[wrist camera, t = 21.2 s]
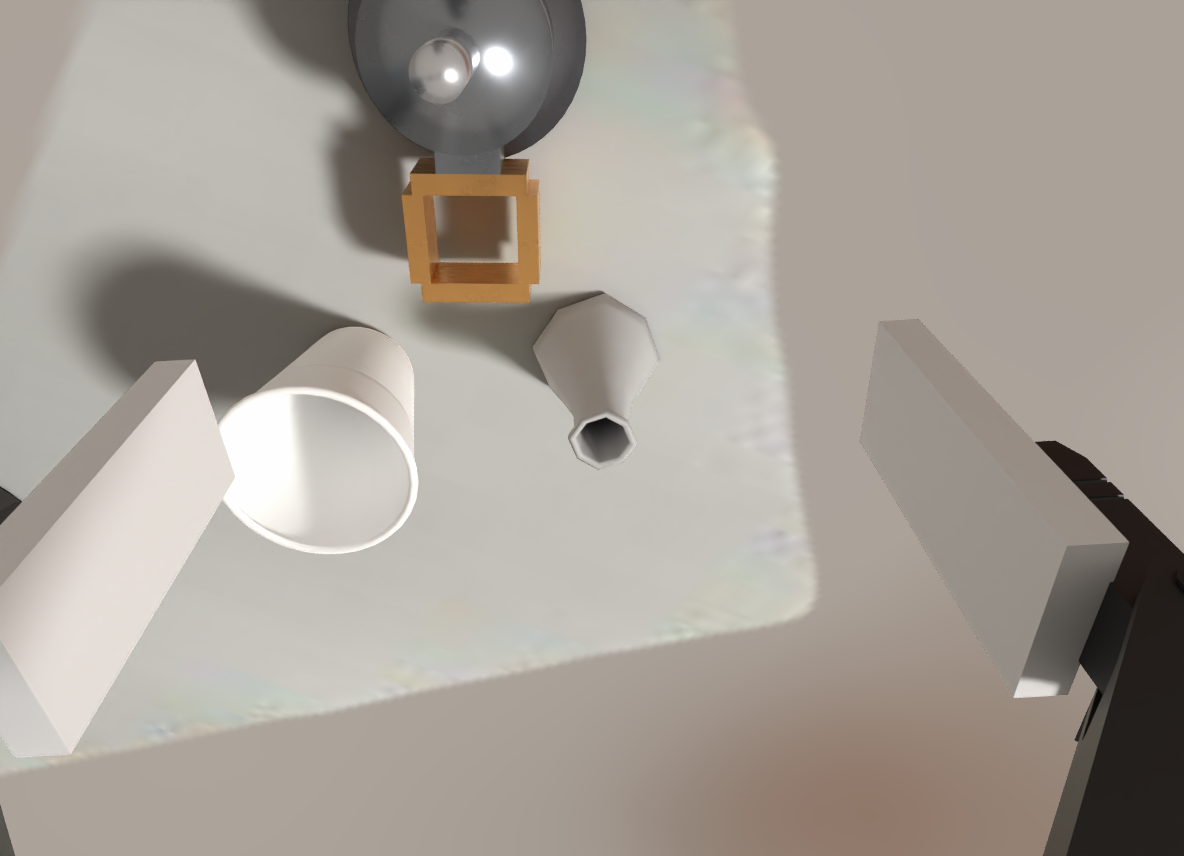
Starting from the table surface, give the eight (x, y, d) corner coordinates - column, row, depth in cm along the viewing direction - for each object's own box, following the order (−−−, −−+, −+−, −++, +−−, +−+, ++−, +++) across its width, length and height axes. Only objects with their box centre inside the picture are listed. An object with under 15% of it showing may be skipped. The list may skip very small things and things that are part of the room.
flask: (607, 269, 45) (616, 348, 36) (680, 359, 48) (704, 450, 39) (510, 343, 47) (497, 432, 39) (586, 424, 50) (590, 523, 42)
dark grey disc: (373, 155, 41) (367, 162, 40) (336, -100, 35) (328, -102, 34) (586, 153, 41) (587, 160, 40) (584, -102, 35) (585, -103, 34)
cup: (388, 466, 51) (348, 584, 42) (247, 380, 48) (170, 489, 38) (479, 360, 48) (458, 465, 38) (333, 258, 44) (270, 346, 35)
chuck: (369, -63, 35) (303, -61, 26) (553, -59, 35) (549, -56, 26) (407, 280, 43) (367, 367, 34) (555, 280, 43) (553, 368, 34)
